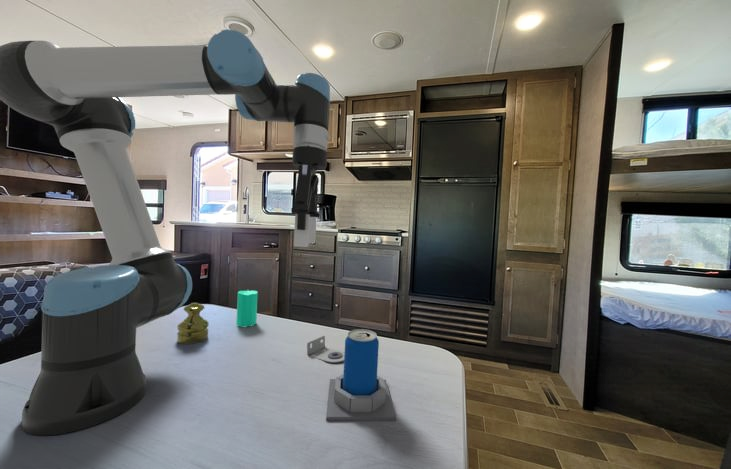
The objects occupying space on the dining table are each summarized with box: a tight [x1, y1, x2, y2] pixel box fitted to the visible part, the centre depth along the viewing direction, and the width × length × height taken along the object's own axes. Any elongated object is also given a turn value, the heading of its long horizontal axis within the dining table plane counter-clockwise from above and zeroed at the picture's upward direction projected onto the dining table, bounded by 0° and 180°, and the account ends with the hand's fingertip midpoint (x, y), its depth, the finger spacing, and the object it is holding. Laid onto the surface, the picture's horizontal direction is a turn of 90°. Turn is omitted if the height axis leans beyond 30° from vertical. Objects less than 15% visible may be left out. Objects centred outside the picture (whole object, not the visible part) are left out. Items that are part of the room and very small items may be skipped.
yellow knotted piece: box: [176, 302, 209, 345], centre depth 77 cm, size 7×7×10 cm
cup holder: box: [325, 373, 397, 421], centre depth 54 cm, size 12×12×3 cm
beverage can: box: [343, 328, 380, 396], centre depth 54 cm, size 6×6×12 cm
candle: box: [235, 290, 259, 327], centre depth 91 cm, size 6×6×12 cm
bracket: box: [306, 335, 345, 364], centre depth 72 cm, size 7×10×4 cm, turn 57°
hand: (305, 244), depth 63 cm, fingers open, 13 cm apart
